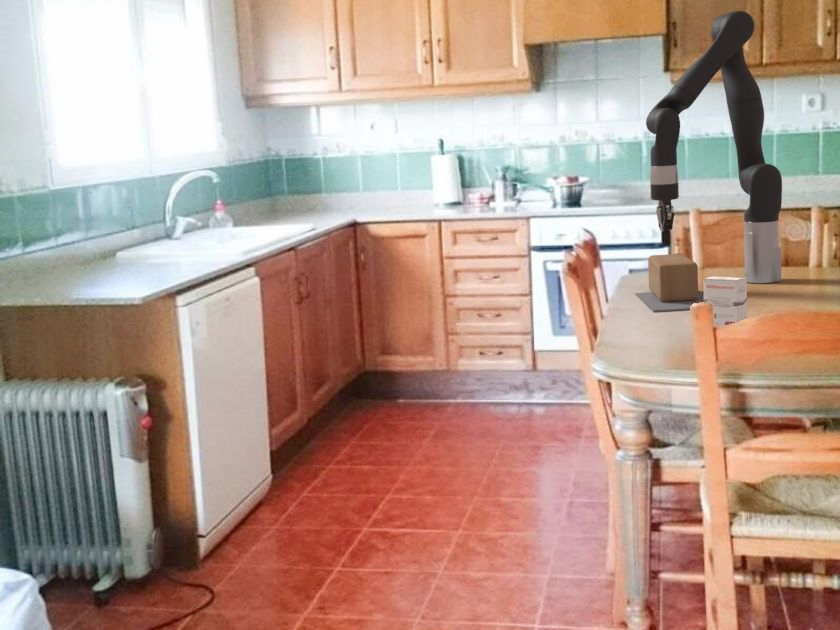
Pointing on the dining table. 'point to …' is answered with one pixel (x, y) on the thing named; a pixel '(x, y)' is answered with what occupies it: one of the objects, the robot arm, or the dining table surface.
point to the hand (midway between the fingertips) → (665, 244)
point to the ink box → (726, 298)
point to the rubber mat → (667, 306)
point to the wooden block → (673, 277)
